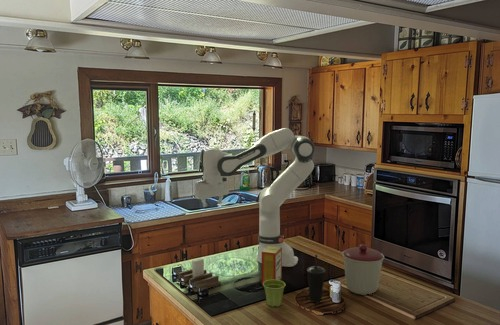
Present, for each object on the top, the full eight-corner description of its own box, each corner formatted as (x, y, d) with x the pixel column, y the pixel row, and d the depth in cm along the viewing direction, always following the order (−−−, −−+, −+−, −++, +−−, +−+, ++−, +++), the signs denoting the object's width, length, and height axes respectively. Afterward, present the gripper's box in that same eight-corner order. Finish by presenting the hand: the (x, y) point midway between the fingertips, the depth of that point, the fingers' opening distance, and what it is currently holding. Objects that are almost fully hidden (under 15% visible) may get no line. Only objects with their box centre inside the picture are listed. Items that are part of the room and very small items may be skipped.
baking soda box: (274, 286, 190) (275, 252, 188) (261, 284, 193) (261, 250, 191) (281, 279, 199) (281, 246, 197) (268, 276, 202) (268, 245, 200)
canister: (354, 301, 175) (355, 253, 172) (334, 284, 192) (335, 240, 190) (391, 296, 180) (393, 249, 177) (368, 280, 197) (370, 237, 195)
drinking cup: (323, 297, 179) (324, 252, 177) (325, 305, 171) (326, 258, 169) (306, 296, 180) (306, 251, 177) (306, 304, 172) (307, 257, 170)
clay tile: (192, 281, 193) (192, 260, 191) (201, 278, 196) (201, 258, 195) (195, 282, 191) (194, 261, 190) (204, 279, 194) (203, 259, 193)
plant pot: (271, 296, 180) (271, 277, 179) (289, 302, 174) (289, 283, 173) (258, 304, 172) (258, 284, 171) (276, 311, 166) (276, 290, 165)
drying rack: (176, 282, 195) (176, 273, 194) (200, 274, 204) (200, 266, 204) (195, 293, 183) (195, 283, 183) (220, 284, 192) (220, 275, 192)
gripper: (199, 182, 208) (199, 209, 210) (230, 177, 222) (231, 203, 223) (191, 180, 213) (192, 207, 214) (223, 176, 226) (223, 201, 228)
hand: (212, 205), depth 219 cm, fingers open, 8 cm apart
